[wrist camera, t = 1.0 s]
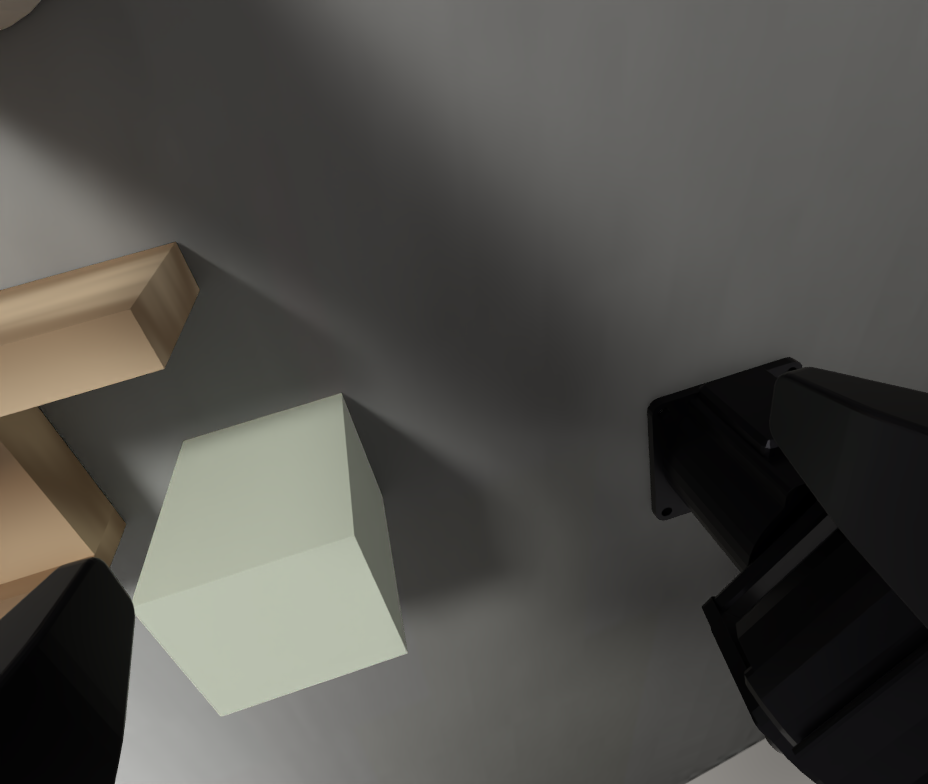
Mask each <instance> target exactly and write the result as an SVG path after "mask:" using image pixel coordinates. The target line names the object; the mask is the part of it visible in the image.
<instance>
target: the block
mask: <svg viewBox="0 0 928 784" xmlns="http://www.w3.org/2000/svg"><path fill="white" fill-rule="evenodd" d="M132 602H133V605H134V609H135V615H136V616H137V617H138V619H139V620H140V621H141V622H142V623H143V625H144V626H145V627H146V628H147V629H148V631H149V632H150V633H151V634H152V635H153V636H154V638H155V639H156V640H157V641H158V642H159V644H160V645H161V646H162V647H163V648H164V650H165V651H166V652H167V653H168V654H169V656H170V657H171V658H172V659H173V660H174V661H175V663H176V664H177V665H178V666H179V667H180V669H181V670H182V671H183V672H184V673H185V675H186V676H187V677H188V678H189V679H190V681H191V682H192V683H193V684H194V685H195V686H196V688H197V689H198V690H199V691H200V692H201V694H202V695H203V696H204V697H205V698H206V700H207V701H208V702H209V703H210V704H211V706H212V707H213V708H214V709H215V710H216V711H217V713H218V714H219V715H220V716H221V717H222V716H225V715H228V714H231V713H234V712H237V711H240V710H243V709H246V708H249V707H252V706H254V705H257V704H260V703H263V702H266V701H269V700H272V699H275V698H278V697H281V696H284V695H287V694H290V693H293V692H295V691H298V690H301V689H304V688H307V687H310V686H313V685H316V684H319V683H322V682H325V681H328V680H331V679H334V678H336V677H339V676H342V675H345V674H348V673H351V672H354V671H357V670H360V669H363V668H366V667H369V666H372V665H375V664H377V663H380V662H383V661H386V660H389V659H392V658H395V657H398V656H401V655H404V654H407V653H408V652H407V646H406V640H405V633H404V627H403V621H402V615H401V608H400V602H399V596H398V590H397V583H396V577H395V571H394V565H393V558H392V552H391V546H390V540H389V533H388V527H387V521H386V515H385V508H384V502H383V497H382V494H381V492H380V489H379V486H378V484H377V481H376V479H375V476H374V474H373V471H372V469H371V466H370V464H369V461H368V459H367V456H366V454H365V451H364V448H363V446H362V443H361V441H360V438H359V436H358V433H357V431H356V428H355V426H354V423H353V421H352V418H351V416H350V413H349V410H348V408H347V405H346V403H345V400H344V398H343V395H342V393H339V394H336V395H333V396H330V397H326V398H323V399H320V400H316V401H313V402H310V403H306V404H303V405H300V406H297V407H293V408H290V409H287V410H283V411H280V412H277V413H274V414H270V415H267V416H264V417H260V418H257V419H254V420H250V421H247V422H244V423H241V424H237V425H234V426H231V427H227V428H224V429H221V430H218V431H214V432H211V433H208V434H204V435H201V436H198V437H194V438H191V439H188V440H185V441H183V444H182V447H181V450H180V453H179V456H178V459H177V462H176V465H175V469H174V472H173V475H172V478H171V481H170V484H169V487H168V490H167V493H166V496H165V500H164V503H163V506H162V509H161V512H160V515H159V518H158V521H157V524H156V528H155V531H154V534H153V537H152V540H151V543H150V546H149V549H148V552H147V556H146V559H145V562H144V565H143V568H142V571H141V574H140V577H139V580H138V583H137V587H136V590H135V593H134V596H133V599H132Z"/></svg>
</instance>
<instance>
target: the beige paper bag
mask: <svg viewBox="0 0 928 784" xmlns="http://www.w3.org/2000/svg"><path fill="white" fill-rule="evenodd" d="M40 1H41V0H0V30H3V29H5V28H8V27H10V26H11V25H13V24H14V23H16V22H17V21H19V20H20V19H22V18H23V17H24V16H26V15H27V14H29V13H30V12H31V11H32V10H33V9H34V8H35V7H36V6H37V4H38V3H39V2H40Z"/></svg>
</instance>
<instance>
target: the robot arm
mask: <svg viewBox="0 0 928 784" xmlns="http://www.w3.org/2000/svg"><path fill="white" fill-rule="evenodd" d="M788 369H789V370H788ZM787 370H788V371H787ZM786 371H787V372H786ZM663 408H664V410H663V411H662V412H661V413H659V411H660V410H661V409H663ZM647 417H648V437H649V458H650V478H651V499H652V511H653V513H654V514H655V516H656V517H657V518H658V519H659V520H668V519H671V518H674V517H677V516H680V515H683V514H686V513H689V512H692V513H693V514H694V515H695V517H696V518H697V519H698V520H699V522H700V523H701V524H702V525H703V526H704V528H705V529H706V530H707V531H708V533H709V534H710V535H711V536H712V537H713V539H714V540H715V541H716V542H717V544H718V545H719V546H720V547H721V549H722V550H723V551H724V552H725V553H726V555H727V556H728V557H729V558H730V560H731V561H732V562H733V563H734V564H735V566H736V567H737V568H738V569H739V571H740V572H741V573H740V574H739V575H738V576H737V577H736V578H735V579H734V580H733V581H732V582H731V583H730V584H728V585H727V586H726V587H725V588H724V589H723V590H722V591H721V592H720V593H719V594H718V595H717V596H716V597H714V596H712V597H711V598H710V599H709V600H708V601H707V602H706V603H705V604H704V605H703V606H702V609H703V611H704V613H705V615H706V618H707V620H708V622H709V624H710V626H711V631H712V633H713V635H714V637H715V639H716V641H717V644H718V646H719V648H720V650H721V652H722V654H723V657H724V659H725V661H726V663H727V665H728V667H729V669H730V672H731V674H732V676H733V678H734V680H735V682H736V685H737V687H738V689H739V691H740V693H741V695H742V697H743V700H744V702H745V704H746V706H747V708H748V710H749V712H750V715H751V717H752V719H753V721H754V723H755V725H756V726H757V727H758V729H759V730H760V731H761V732H762V733H763V734H764V735H765V738H766V739H767V741H768V742H769V744H770V745H771V746H772V747H773V748H774V749H775V750H776V751H777V752H779V753H782V754H784V755H785V756H786V758H787V759H788V760H790V761H791V762H792V763H793V764H794V765H795V766H796V767H797V768H798V769H799V770H800V771H801V772H802V773H804V774H805V775H806V776H807V777H809V778H810V779H811V780H812V781H814V782H815V783H816V784H928V393H926V392H921V391H917V390H912V389H908V388H903V387H899V386H895V385H890V384H886V383H881V382H877V381H872V380H868V379H863V378H859V377H854V376H850V375H846V374H841V373H837V372H832V371H828V370H823V369H819V368H814V367H804V368H802V365H801V363H800V362H798V361H796V360H795V359H793V358H791V357H787V358H783V359H780V360H777V361H773V362H770V363H767V364H764V365H761V366H758V367H755V368H751V369H748V370H745V371H742V372H739V373H736V374H733V375H729V376H726V377H723V378H720V379H717V380H714V381H711V382H707V383H704V384H701V385H698V386H695V387H692V388H689V389H685V390H682V391H679V392H676V393H673V394H670V395H667V396H663V397H660V398H658V399H656V400H654V401H653V402H652V403H651V404H650V405H649V407H648V411H647ZM134 625H135V609H134V605H133V602H132V600H131V598H130V596H129V595H128V593H127V592H126V591H125V589H124V588H123V586H122V585H121V584H120V582H119V581H118V579H117V578H116V577H115V575H114V574H113V572H112V571H111V570H110V568H109V567H108V565H107V564H106V563H105V562H104V561H103V560H101V559H100V558H96V557H90V558H86V559H83V560H79V561H75V562H71V563H68V564H65V565H62V566H60V567H58V568H57V569H56V570H54V571H53V572H52V573H51V574H50V575H49V576H48V577H47V578H46V579H44V580H43V581H42V582H41V583H40V584H39V585H38V586H37V587H36V588H34V589H33V590H32V591H31V592H30V593H29V594H28V595H27V596H26V597H24V598H23V599H22V600H21V601H20V602H19V603H18V604H17V605H16V606H14V607H13V608H12V609H11V610H10V611H9V612H8V613H7V614H6V615H4V616H3V617H2V618H1V619H0V784H115V779H116V774H117V769H118V765H119V759H120V754H121V748H122V743H123V736H124V728H125V720H126V710H127V699H128V689H129V678H130V668H131V657H132V646H133V636H134Z"/></svg>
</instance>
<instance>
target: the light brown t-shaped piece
mask: <svg viewBox="0 0 928 784" xmlns="http://www.w3.org/2000/svg"><path fill="white" fill-rule="evenodd" d="M199 291H200V289H199V287H198V285H197V283H196V281H195V279H194V277H193V275H192V273H191V271H190V269H189V267H188V265H187V263H186V261H185V259H184V257H183V255H182V253H181V251H180V249H179V247H178V245H177V243H176V242H173V243H170V244H166V245H163V246H159V247H155V248H152V249H148V250H145V251H141V252H137V253H134V254H130V255H126V256H123V257H119V258H116V259H112V260H108V261H105V262H101V263H98V264H94V265H90V266H87V267H83V268H80V269H76V270H72V271H69V272H65V273H61V274H58V275H54V276H51V277H47V278H43V279H40V280H36V281H33V282H29V283H25V284H22V285H18V286H15V287H11V288H7V289H4V290H0V619H1V618H2V617H3V616H4V615H6V614H7V613H8V612H9V611H10V610H11V609H12V608H13V607H14V606H16V605H17V604H18V603H19V602H20V601H21V600H22V599H23V598H24V597H26V596H27V595H28V594H29V593H30V592H31V591H32V590H33V589H34V588H36V587H37V586H38V585H39V584H40V583H41V582H42V581H43V580H44V579H46V578H47V577H48V576H49V575H50V574H51V573H52V572H53V571H54V570H56V569H57V568H58V567H60V566H62V565H65V564H68V563H71V562H75V561H79V560H83V559H86V558H90V557H96V558H100V559H101V560H103V561H104V562H105V563H106V564H107V565H108V567H109V568H110V565H111V563H112V560H113V558H114V555H115V552H116V550H117V547H118V545H119V542H120V539H121V537H122V534H123V532H124V529H125V526H126V523H125V522H124V521H123V519H122V518H121V517H120V515H119V514H118V513H117V511H116V510H115V509H114V507H113V506H112V505H111V503H110V502H109V501H108V499H107V498H106V497H105V495H104V494H103V493H102V491H101V490H100V489H99V487H98V486H97V485H96V483H95V482H94V481H93V479H92V478H91V477H90V475H89V474H88V473H87V471H86V470H85V469H84V467H83V466H82V465H81V463H80V462H79V461H78V460H77V458H76V457H75V456H74V454H73V453H72V452H71V450H70V449H69V448H68V446H67V445H66V444H65V442H64V441H63V440H62V438H61V437H60V436H59V434H58V433H57V432H56V430H55V429H54V428H53V426H52V425H51V424H50V422H49V421H48V420H47V418H46V417H45V416H44V414H43V413H42V412H41V410H40V409H39V408H38V406H40V405H43V404H46V403H50V402H53V401H57V400H60V399H63V398H67V397H70V396H74V395H77V394H80V393H84V392H87V391H91V390H94V389H98V388H101V387H104V386H108V385H111V384H115V383H118V382H121V381H125V380H128V379H132V378H135V377H138V376H142V375H145V374H149V373H152V372H155V371H159V370H162V369H165V367H166V364H167V362H168V360H169V358H170V356H171V353H172V351H173V349H174V347H175V344H176V342H177V340H178V338H179V336H180V333H181V331H182V329H183V327H184V324H185V322H186V320H187V318H188V316H189V313H190V311H191V309H192V307H193V304H194V302H195V300H196V298H197V296H198V293H199Z"/></svg>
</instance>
